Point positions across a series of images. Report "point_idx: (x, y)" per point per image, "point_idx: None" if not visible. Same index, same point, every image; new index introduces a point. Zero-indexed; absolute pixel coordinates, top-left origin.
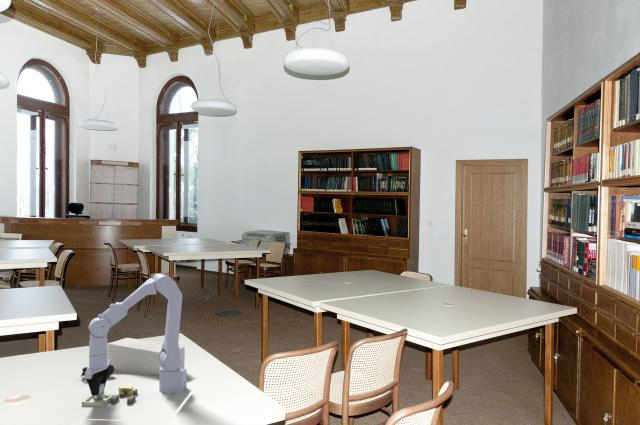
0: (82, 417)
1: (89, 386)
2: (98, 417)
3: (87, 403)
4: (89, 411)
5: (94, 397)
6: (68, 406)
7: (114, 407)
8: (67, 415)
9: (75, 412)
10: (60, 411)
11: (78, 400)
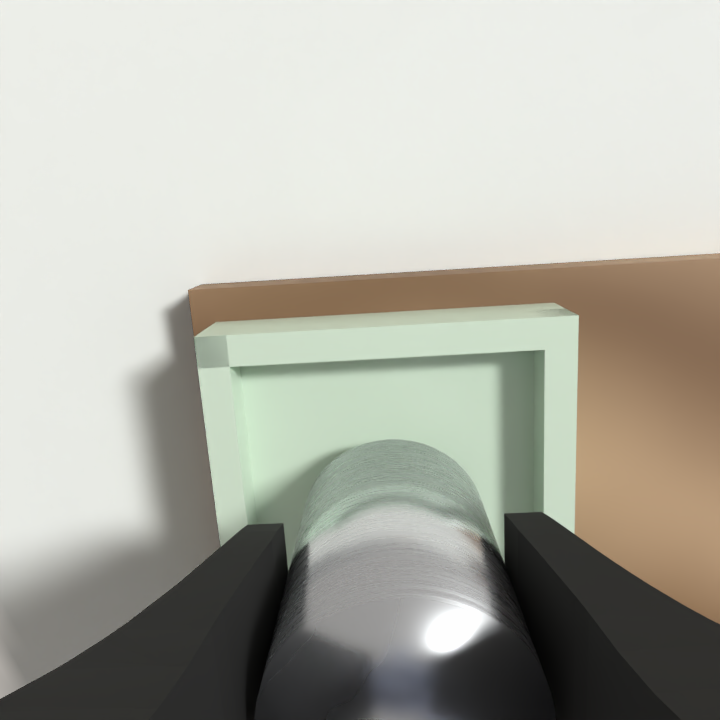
0: (9, 459)
1: (119, 638)
2: (57, 643)
3: (209, 431)
4: (198, 448)
5: (299, 528)
6: (319, 17)
7: None
8: (14, 218)
9: (131, 274)
10: (116, 8)
11: (580, 36)
